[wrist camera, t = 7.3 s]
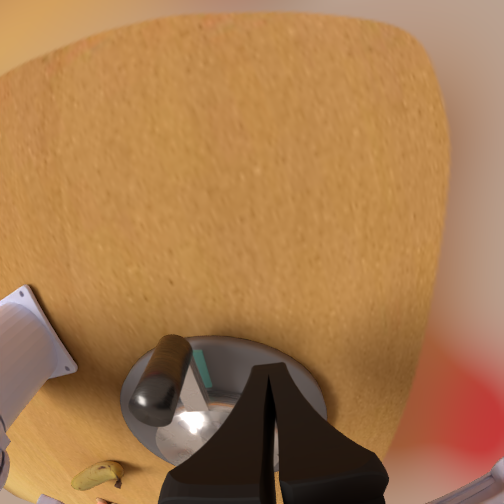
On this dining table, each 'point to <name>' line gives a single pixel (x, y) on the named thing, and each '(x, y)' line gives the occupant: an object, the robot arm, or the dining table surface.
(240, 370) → the dial base
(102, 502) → the grandmother figurine
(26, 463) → the dining table surface
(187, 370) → the dial
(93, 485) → the banana
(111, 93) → the dining table surface
